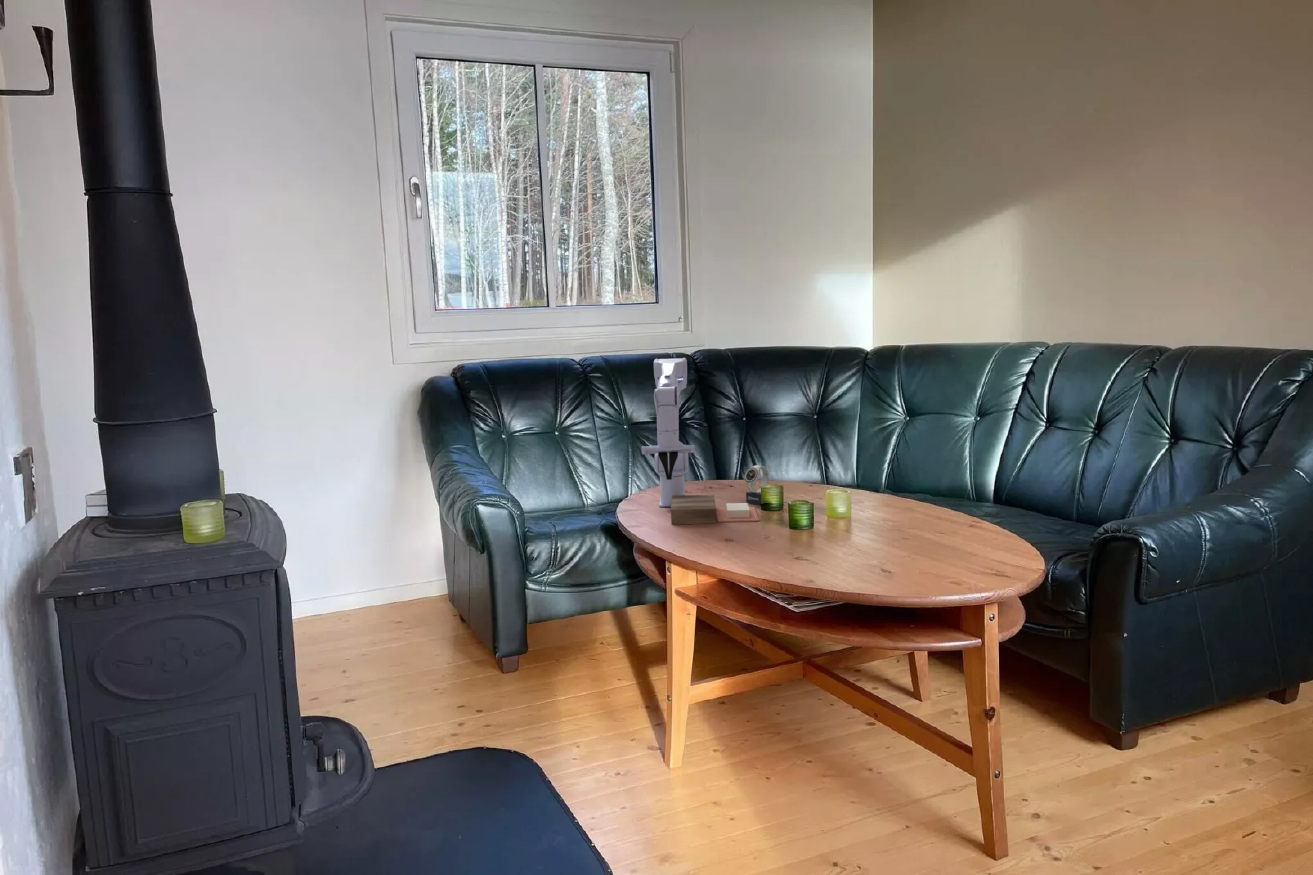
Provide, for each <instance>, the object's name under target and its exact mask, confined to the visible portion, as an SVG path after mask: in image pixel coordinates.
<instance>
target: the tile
mask: <svg viewBox="0 0 1313 875" xmlns="http://www.w3.org/2000/svg"><path fill="white" fill-rule="evenodd" d="M725 507H726V512H727V518H736V517H750V511H749V507H750V506H749V503H746V502H730V503H729V502H727V503H725Z"/></svg>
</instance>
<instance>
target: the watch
mask: <svg viewBox="0 0 1313 875" xmlns="http://www.w3.org/2000/svg"><path fill="white" fill-rule="evenodd" d="M761 471H762V477H761ZM769 472H770V471H769V469H768V468H767V467H766V466H763V465H757V464H756V465H753V466H751V467H749V468H748V469H747V470H745V472H744V476H743V478H744V482H745V485H746V487H747V490H748V491H747V492H745V499H746V500H745V503H748V504H751V505H757V506H761V505H760V504H761V494H760V493H761V488H762V485H763V484H768V485H769V481H770V473H769ZM760 479H761V481H760V483H759V486H758V487H759V488H758V489H756V490H755V488H754V487H755V486H756V483H757V482H758V480H760Z"/></svg>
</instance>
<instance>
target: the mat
mask: <svg viewBox="0 0 1313 875" xmlns="http://www.w3.org/2000/svg"><path fill="white" fill-rule="evenodd" d="M748 507H749V511H750V517H736V518H727V512H726V506H725V507H716V523H739V522H740V523H741V522H742V523H743V522H747V523H749V522H759V521H760V519H759V517H758V514H757V511H756V508H755V506H748Z"/></svg>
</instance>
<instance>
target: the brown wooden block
mask: <svg viewBox="0 0 1313 875" xmlns="http://www.w3.org/2000/svg"><path fill="white" fill-rule="evenodd" d="M716 508H717V506H716V498H715V494H694V495H693V494H685V495H681V496H672V503H671V506H670V515H671V516H670V520H671V521H670V522H671V523H670V524H671V525H691V524H692V525H696V524H697V525H698V524H700V525H701V524H703V525H704V524H717V516H716Z"/></svg>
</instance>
